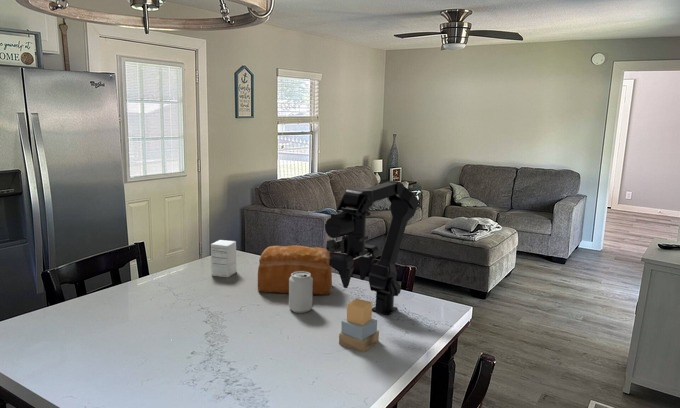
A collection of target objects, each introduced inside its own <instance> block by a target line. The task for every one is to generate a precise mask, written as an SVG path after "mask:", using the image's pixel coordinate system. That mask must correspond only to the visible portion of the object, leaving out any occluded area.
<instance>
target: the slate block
mask: <svg viewBox="0 0 680 408" xmlns="http://www.w3.org/2000/svg"><path fill="white" fill-rule="evenodd" d="M340 328H341V331H340V333H343V334H345V335H348V336H351V337H354V338H356V339H359V340H364V339H366V338H367V337H369V336H371V335H372V334H374V333H376V332H377V330H378V319H375V318H372V319H371V320H370V321H368V322H367V323H365V324H364V325H359V324H356V323H352V322H348V321H347V318H345V319H342V320H341V327H340Z"/></svg>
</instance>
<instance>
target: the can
mask: <svg viewBox="0 0 680 408" xmlns="http://www.w3.org/2000/svg"><path fill="white" fill-rule="evenodd" d="M312 290H313V278H312V277H311V274H310V273H309V272H304V271H298V272H294V273H292V274H291V277H290V278H289V293H288V308H289V309H290V311H292V312H294V313H297V314H304V313H307V312H309V311H310V310H312V308H313V295H312Z"/></svg>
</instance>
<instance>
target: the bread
mask: <svg viewBox="0 0 680 408" xmlns="http://www.w3.org/2000/svg"><path fill="white" fill-rule="evenodd" d="M330 257H331V253H330V251H327V249H326V247H325V248H323V247H311V246H307V245H306V246H305V245H293V244H292V245H270V246H267V247H266V248H265V249H264V250H263V251H262V253H261V254H260V256H259V261H258V262H259V265H258V269H257V291H258V292H260V293H272V294H273V293H274V294H289V278H290V277H291V274H292V273H294V272H298V271H304V272H309V273H310V274H311V277H312V278H313V290H312V296H313V295H317V296H318V295H319V296H320V295H322V296H325V295H330V293H331V292H332V288H333V279H332V278H333V274H332V273H333V271H332V269H333V267H332V266H329V258H330Z"/></svg>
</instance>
